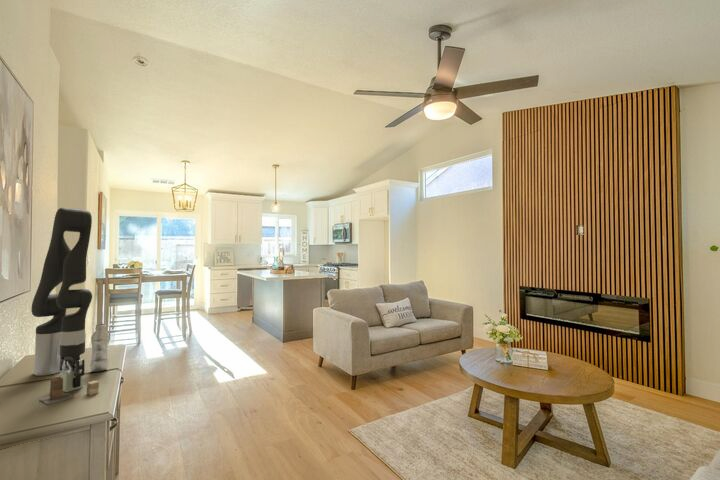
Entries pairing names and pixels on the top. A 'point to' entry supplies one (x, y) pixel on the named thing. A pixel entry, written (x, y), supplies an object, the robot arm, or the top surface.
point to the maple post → (92, 387)
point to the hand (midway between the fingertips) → (71, 384)
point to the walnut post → (56, 392)
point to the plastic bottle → (99, 348)
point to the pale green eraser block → (69, 381)
